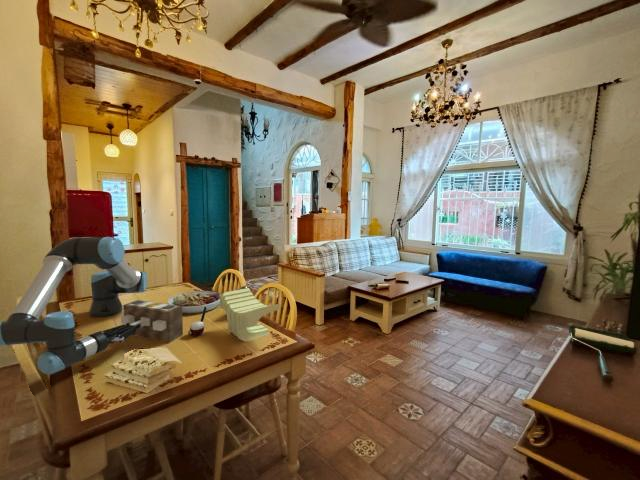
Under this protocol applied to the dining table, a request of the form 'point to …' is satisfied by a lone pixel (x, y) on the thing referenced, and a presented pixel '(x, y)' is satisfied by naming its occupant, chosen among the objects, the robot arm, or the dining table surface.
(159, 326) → the button
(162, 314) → the button panel
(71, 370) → the dining table surface
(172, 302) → the bowl
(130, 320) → the button
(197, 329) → the cocoa
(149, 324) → the middle button
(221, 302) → the slatted curved stool
